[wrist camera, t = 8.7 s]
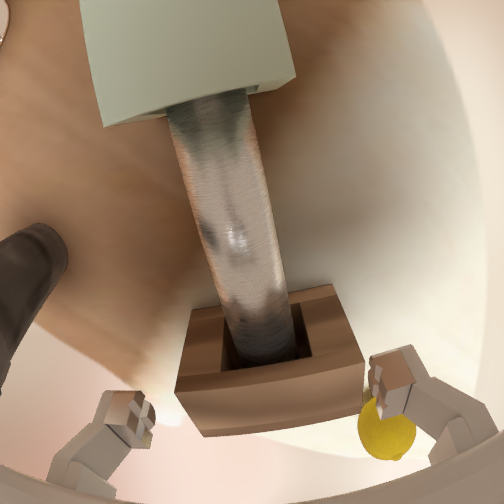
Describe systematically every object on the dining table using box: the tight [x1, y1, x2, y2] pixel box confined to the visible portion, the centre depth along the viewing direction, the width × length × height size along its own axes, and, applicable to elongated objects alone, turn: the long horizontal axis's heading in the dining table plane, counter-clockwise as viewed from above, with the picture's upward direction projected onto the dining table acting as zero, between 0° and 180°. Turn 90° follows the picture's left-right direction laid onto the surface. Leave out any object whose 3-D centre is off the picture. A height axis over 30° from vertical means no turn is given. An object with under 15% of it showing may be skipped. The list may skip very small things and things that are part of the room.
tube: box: [165, 88, 299, 369], centre depth 16 cm, size 16×4×4 cm, turn 12°
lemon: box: [358, 396, 416, 461], centre depth 23 cm, size 6×6×8 cm
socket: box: [174, 284, 365, 437], centre depth 19 cm, size 5×10×8 cm, turn 102°
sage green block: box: [79, 0, 296, 127], centre depth 11 cm, size 8×7×7 cm
